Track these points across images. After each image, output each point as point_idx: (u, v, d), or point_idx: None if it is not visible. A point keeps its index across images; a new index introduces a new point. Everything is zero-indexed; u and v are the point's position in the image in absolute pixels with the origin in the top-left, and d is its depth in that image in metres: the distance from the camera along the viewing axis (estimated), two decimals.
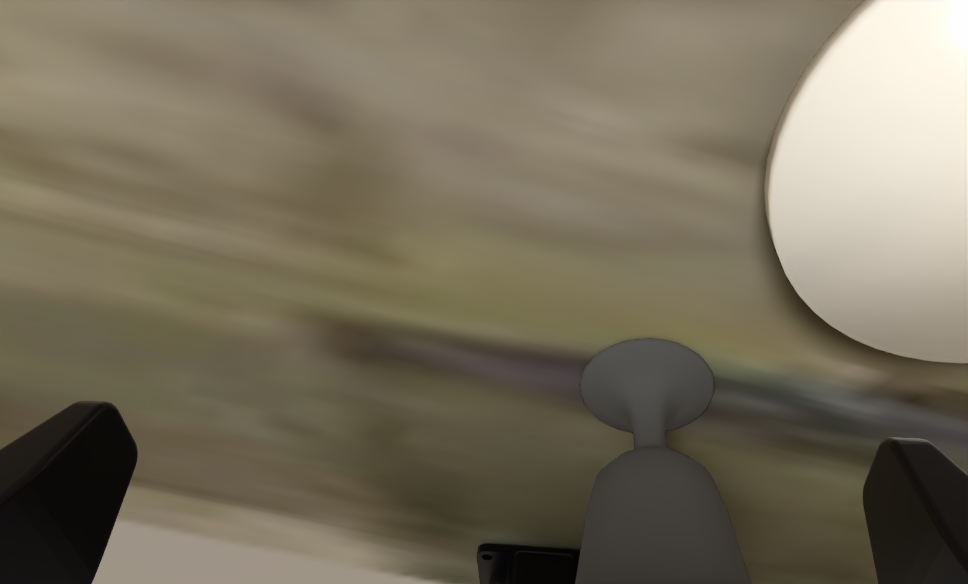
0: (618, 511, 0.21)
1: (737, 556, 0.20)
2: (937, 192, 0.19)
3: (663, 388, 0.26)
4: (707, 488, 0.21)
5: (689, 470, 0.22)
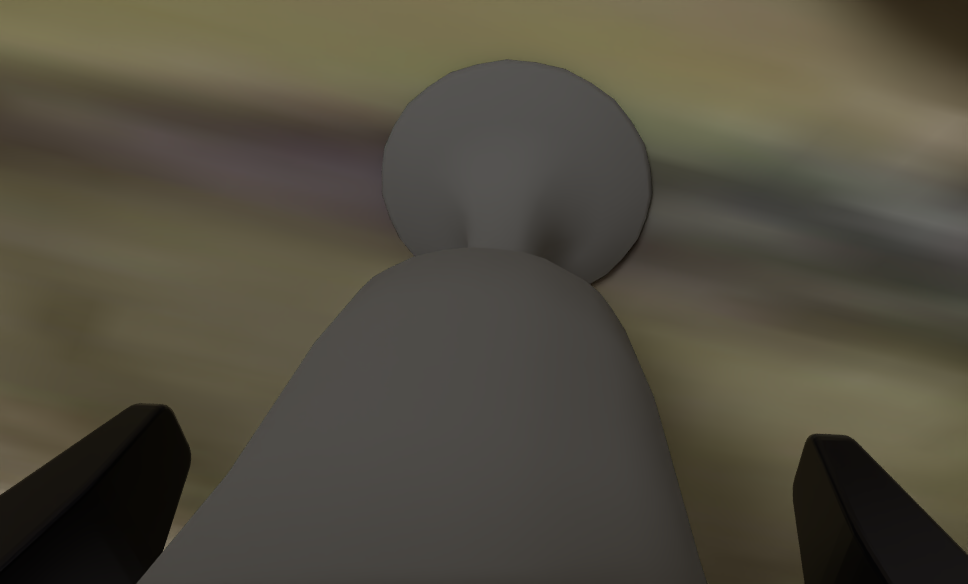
0: (307, 379, 0.07)
1: (665, 509, 0.06)
2: None
3: (537, 172, 0.12)
4: (592, 325, 0.07)
5: (546, 283, 0.08)
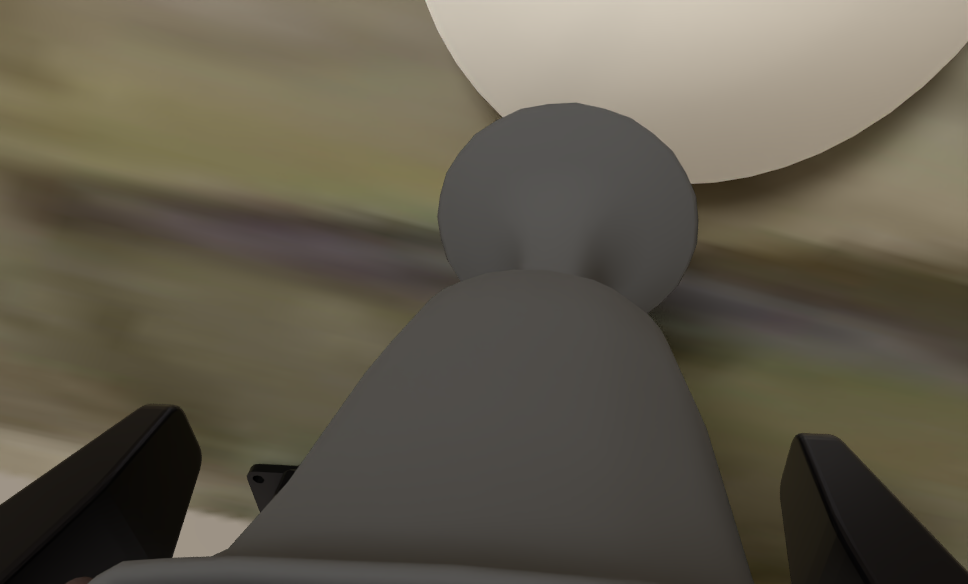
0: (394, 371, 0.07)
1: (727, 527, 0.06)
2: None
3: (593, 210, 0.12)
4: (657, 353, 0.08)
5: (615, 309, 0.08)
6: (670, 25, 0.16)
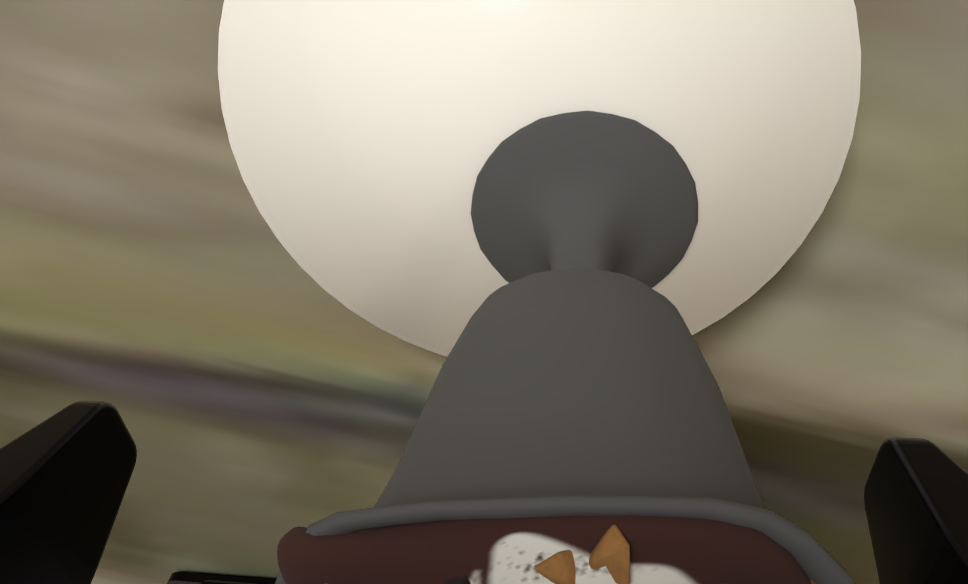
0: (479, 362, 0.09)
1: (739, 459, 0.09)
2: (417, 164, 0.16)
3: (608, 202, 0.15)
4: (677, 331, 0.10)
5: (641, 297, 0.10)
6: None
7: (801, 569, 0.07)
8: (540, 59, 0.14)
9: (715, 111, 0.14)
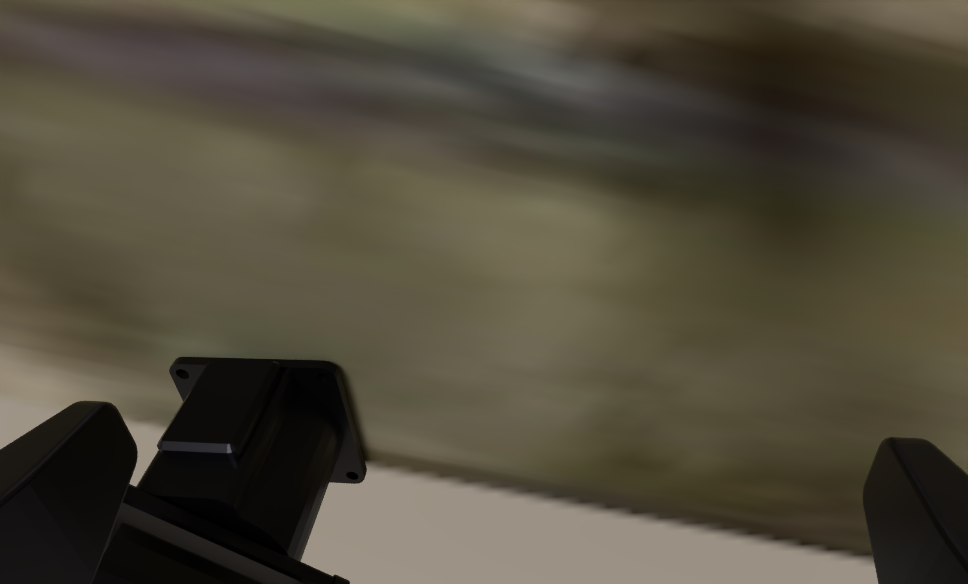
0: None
1: None
2: None
3: None
4: None
5: None
6: None
7: None
8: None
9: None
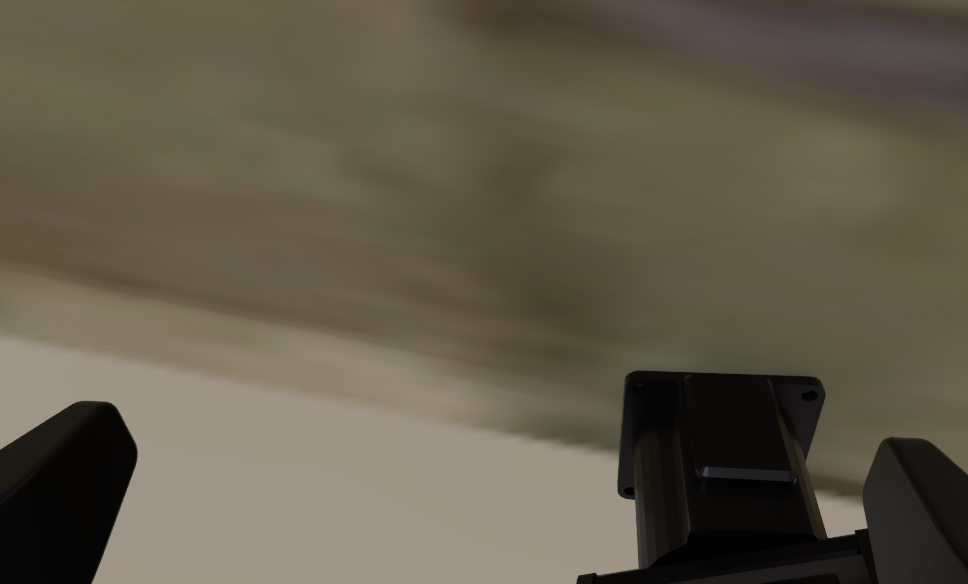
0: None
1: None
2: None
3: None
4: None
5: None
6: None
7: None
8: None
9: None
